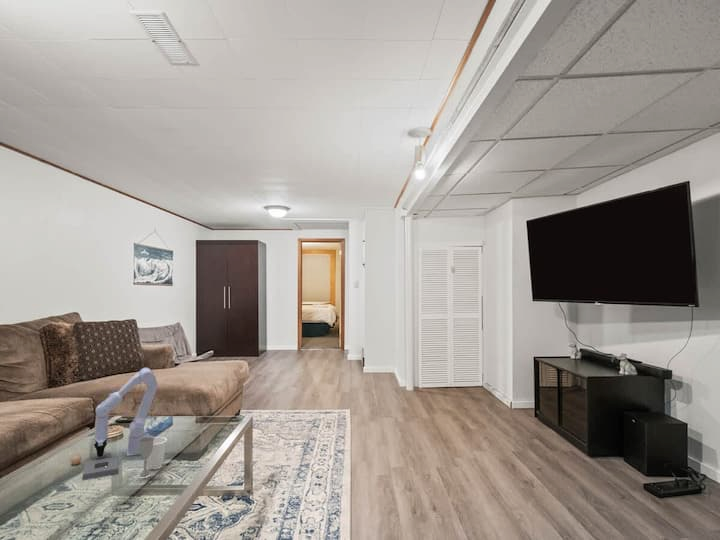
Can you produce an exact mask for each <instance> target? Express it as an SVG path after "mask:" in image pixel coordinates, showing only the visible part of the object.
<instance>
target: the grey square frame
mask: <svg viewBox="0 0 720 540" xmlns="http://www.w3.org/2000/svg"><path fill="white" fill-rule="evenodd" d="M83 466H84V467H83V472H82V480H83V479H85V480H89V479H88V478H91V479H94V478H95V479H96V478H101V477H106V476H113V475H117V474H119V456H112V457H105V458H98V459H94V460H88V461H85V462H84V465H83ZM105 466H107V467H105Z"/></svg>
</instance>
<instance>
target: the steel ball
mask: <svg viewBox="0 0 720 540" xmlns="http://www.w3.org/2000/svg"><path fill="white" fill-rule="evenodd" d="M105 455H106V452H105V450H104V453H103V456H102V457H98V456H97V451H96V452H95V457H96V458H97V459H103V458H104V456H105Z"/></svg>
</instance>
